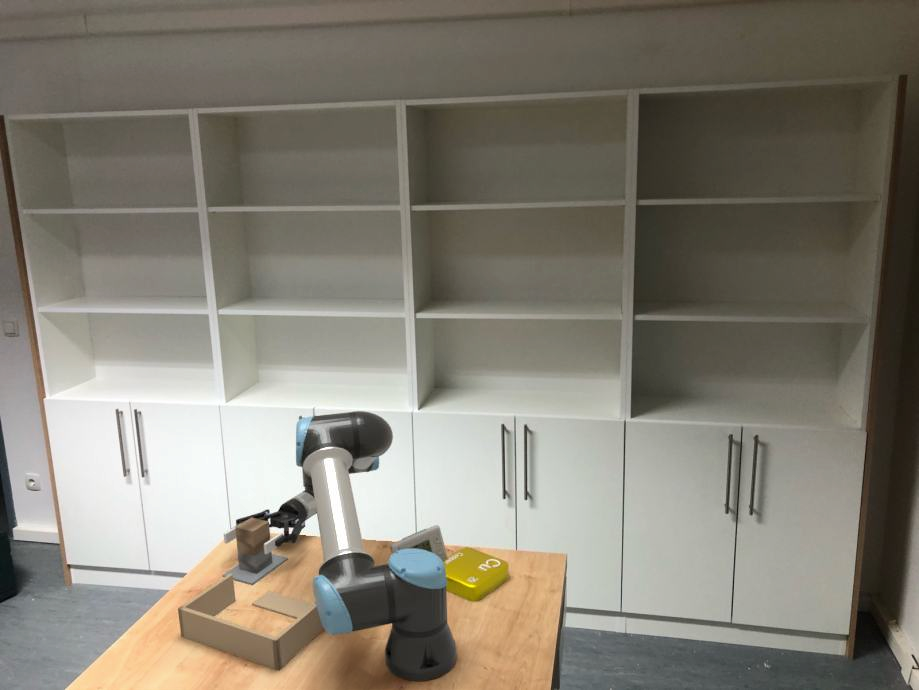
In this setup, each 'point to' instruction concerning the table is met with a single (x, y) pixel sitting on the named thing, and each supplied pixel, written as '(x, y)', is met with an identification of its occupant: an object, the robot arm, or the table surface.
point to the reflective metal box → (253, 545)
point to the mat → (252, 577)
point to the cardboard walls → (244, 640)
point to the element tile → (474, 573)
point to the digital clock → (423, 542)
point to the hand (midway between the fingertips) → (244, 543)
